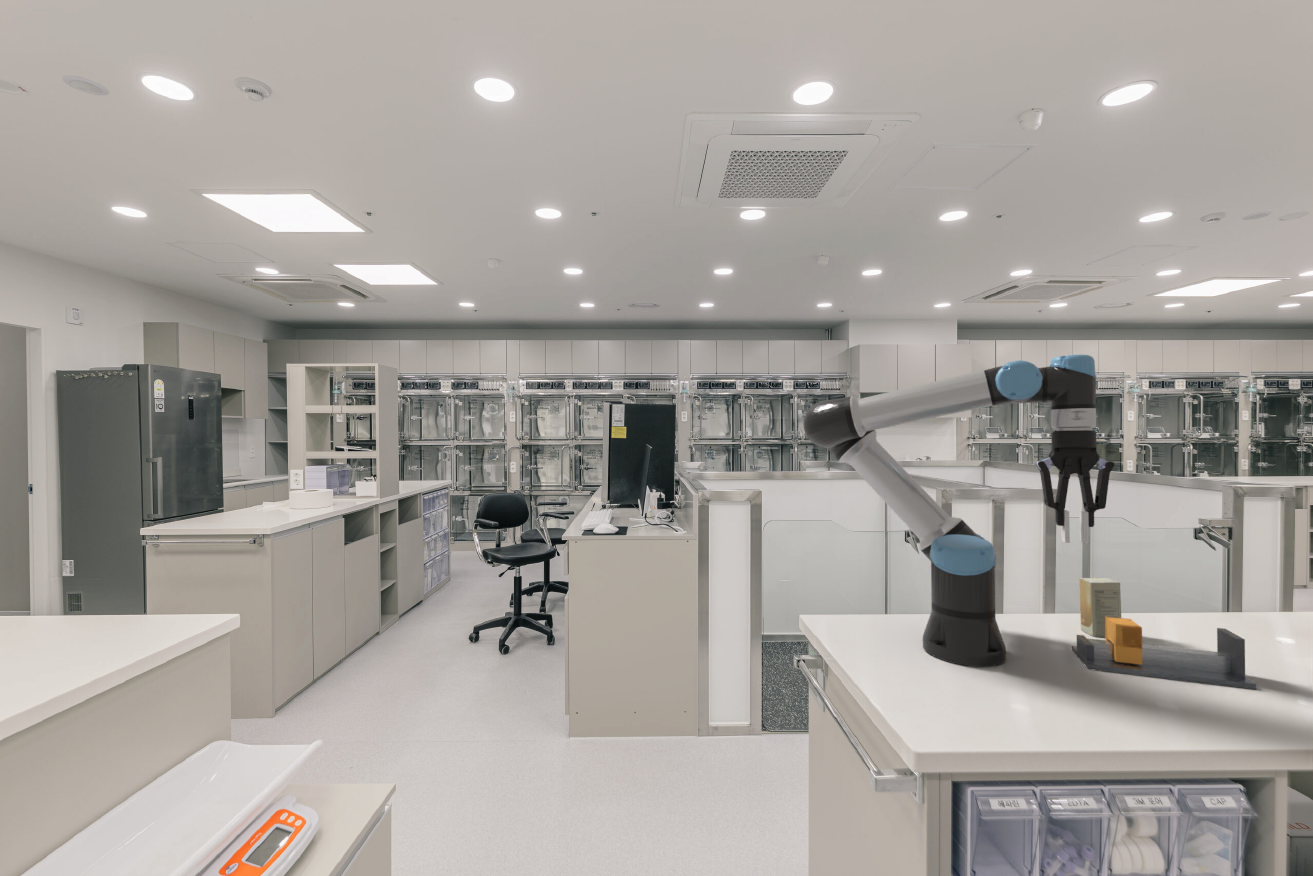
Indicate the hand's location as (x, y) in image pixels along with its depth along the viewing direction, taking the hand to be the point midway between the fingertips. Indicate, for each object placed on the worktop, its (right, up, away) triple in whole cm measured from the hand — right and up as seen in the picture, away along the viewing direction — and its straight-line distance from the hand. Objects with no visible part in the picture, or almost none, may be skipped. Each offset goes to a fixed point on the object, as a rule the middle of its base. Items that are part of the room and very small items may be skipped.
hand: (1074, 541), depth 115 cm
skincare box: (+13, -23, +9) cm, 27 cm away
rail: (+8, -22, -10) cm, 26 cm away
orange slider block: (+4, -21, -8) cm, 23 cm away
